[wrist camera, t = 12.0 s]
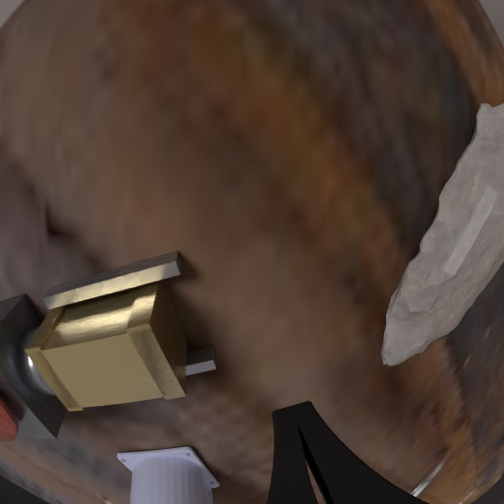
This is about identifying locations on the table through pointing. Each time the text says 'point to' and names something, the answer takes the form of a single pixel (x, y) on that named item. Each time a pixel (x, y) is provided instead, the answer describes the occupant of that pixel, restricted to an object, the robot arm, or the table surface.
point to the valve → (27, 323)
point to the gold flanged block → (112, 349)
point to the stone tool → (453, 247)
